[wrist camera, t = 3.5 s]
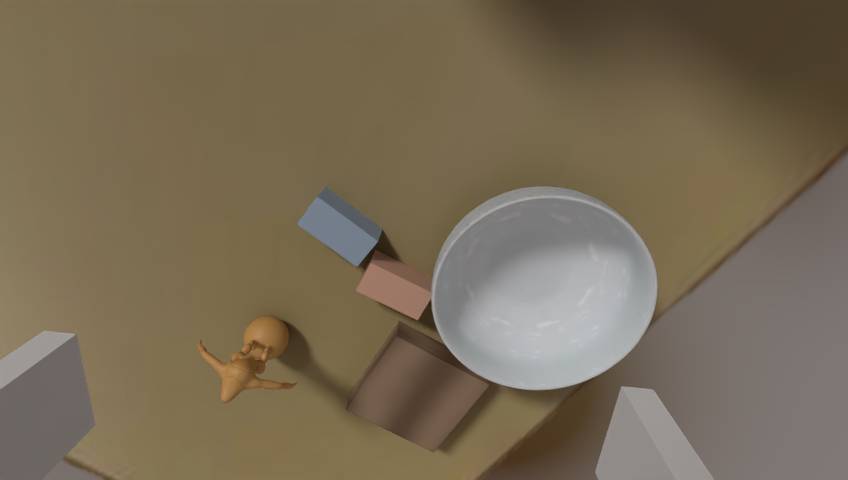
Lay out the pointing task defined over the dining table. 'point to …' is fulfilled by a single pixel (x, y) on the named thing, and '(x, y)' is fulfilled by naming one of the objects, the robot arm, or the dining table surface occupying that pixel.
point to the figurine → (251, 358)
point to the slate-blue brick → (340, 227)
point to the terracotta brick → (395, 285)
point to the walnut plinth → (415, 388)
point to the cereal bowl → (543, 288)
